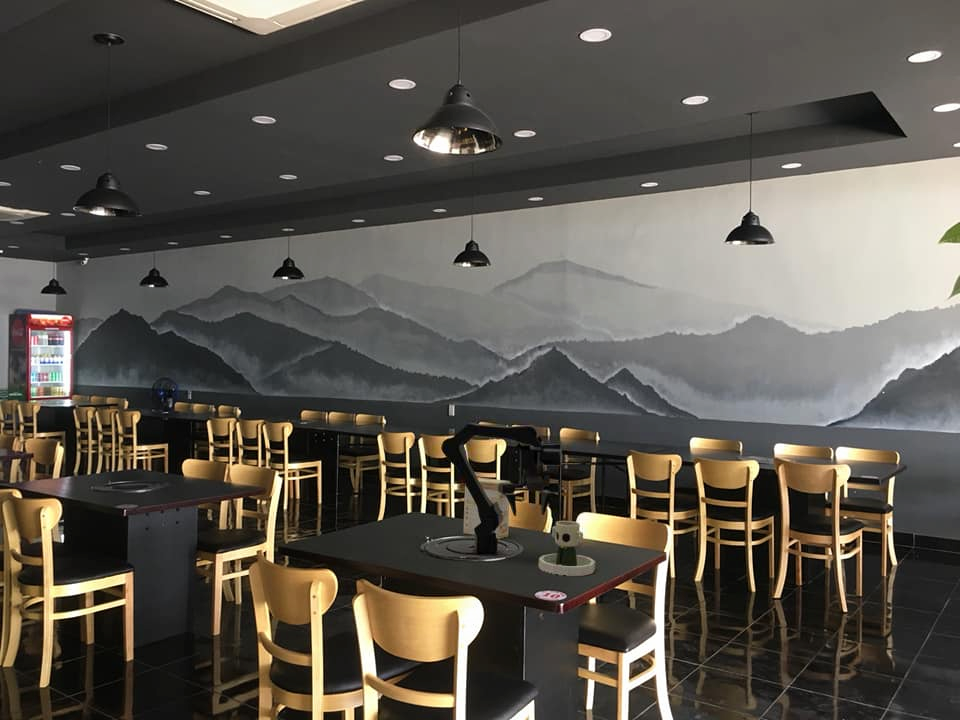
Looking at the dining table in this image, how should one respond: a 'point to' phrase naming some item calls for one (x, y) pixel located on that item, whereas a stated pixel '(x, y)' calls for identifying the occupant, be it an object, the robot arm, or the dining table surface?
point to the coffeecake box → (493, 495)
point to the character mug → (567, 542)
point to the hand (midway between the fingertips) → (529, 515)
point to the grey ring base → (582, 568)
